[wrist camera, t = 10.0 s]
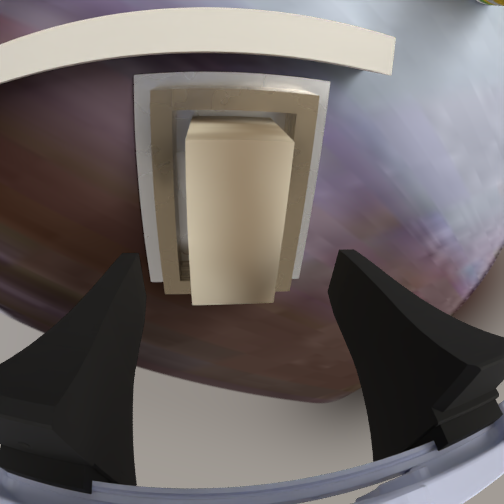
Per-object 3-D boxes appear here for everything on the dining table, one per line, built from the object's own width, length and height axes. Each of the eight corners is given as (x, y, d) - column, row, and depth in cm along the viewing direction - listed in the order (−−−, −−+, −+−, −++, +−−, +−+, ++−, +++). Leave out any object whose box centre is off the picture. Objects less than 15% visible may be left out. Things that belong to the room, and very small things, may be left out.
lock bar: (194, 247, 19) (192, 305, 15) (192, 116, 15) (185, 139, 11) (258, 246, 20) (273, 302, 16) (270, 117, 15) (294, 142, 11)
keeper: (151, 278, 21) (147, 302, 19) (135, 74, 13) (123, 77, 11) (297, 275, 22) (305, 298, 20) (328, 81, 15) (345, 85, 13)
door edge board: (8, 81, 12) (-22, 90, 9) (7, 50, 10) (-23, 53, 8) (363, 70, 14) (391, 75, 12) (367, 38, 13) (395, 37, 11)
